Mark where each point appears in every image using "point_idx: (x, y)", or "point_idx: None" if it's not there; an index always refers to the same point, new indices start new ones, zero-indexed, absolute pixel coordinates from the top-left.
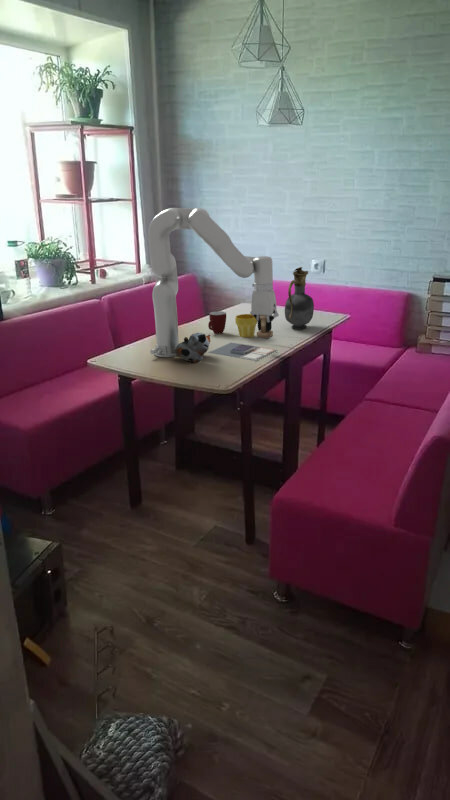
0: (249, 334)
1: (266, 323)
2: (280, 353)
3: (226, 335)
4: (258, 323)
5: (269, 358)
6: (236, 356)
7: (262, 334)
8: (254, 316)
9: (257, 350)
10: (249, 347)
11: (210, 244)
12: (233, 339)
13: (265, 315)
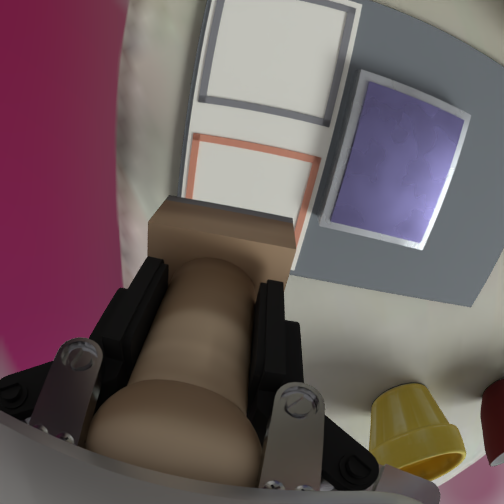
0: (390, 401)
1: (118, 326)
2: (138, 209)
3: (473, 383)
4: (277, 348)
5: (156, 81)
6: (393, 25)
7: (214, 223)
8: (365, 456)
9: (290, 192)
10: (351, 181)
11: None
12: (454, 357)
13: (41, 431)
